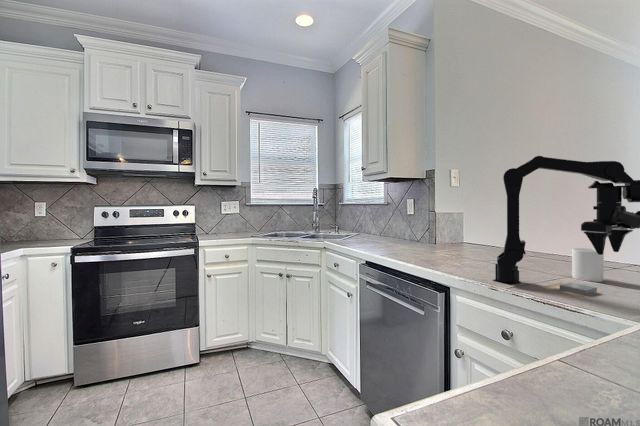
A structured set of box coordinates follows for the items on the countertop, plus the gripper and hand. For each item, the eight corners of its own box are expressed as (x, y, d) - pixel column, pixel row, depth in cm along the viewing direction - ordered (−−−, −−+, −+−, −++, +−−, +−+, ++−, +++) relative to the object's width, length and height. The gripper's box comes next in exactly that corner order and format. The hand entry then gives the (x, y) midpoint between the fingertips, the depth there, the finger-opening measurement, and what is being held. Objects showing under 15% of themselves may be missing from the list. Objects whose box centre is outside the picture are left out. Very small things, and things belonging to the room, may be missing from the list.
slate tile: (570, 287, 102) (559, 289, 100) (570, 282, 102) (559, 284, 100) (596, 292, 96) (585, 295, 94) (596, 287, 96) (585, 290, 93)
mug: (594, 275, 118) (595, 247, 118) (607, 283, 107) (608, 252, 107) (566, 274, 122) (566, 246, 121) (576, 281, 111) (576, 251, 111)
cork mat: (540, 288, 104) (540, 287, 104) (560, 283, 108) (560, 282, 108) (583, 298, 93) (583, 296, 93) (603, 292, 97) (603, 291, 97)
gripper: (627, 203, 86) (627, 260, 87) (659, 201, 94) (658, 254, 94) (580, 203, 96) (579, 254, 97) (612, 202, 104) (611, 249, 105)
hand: (608, 253), depth 98 cm, fingers open, 9 cm apart
